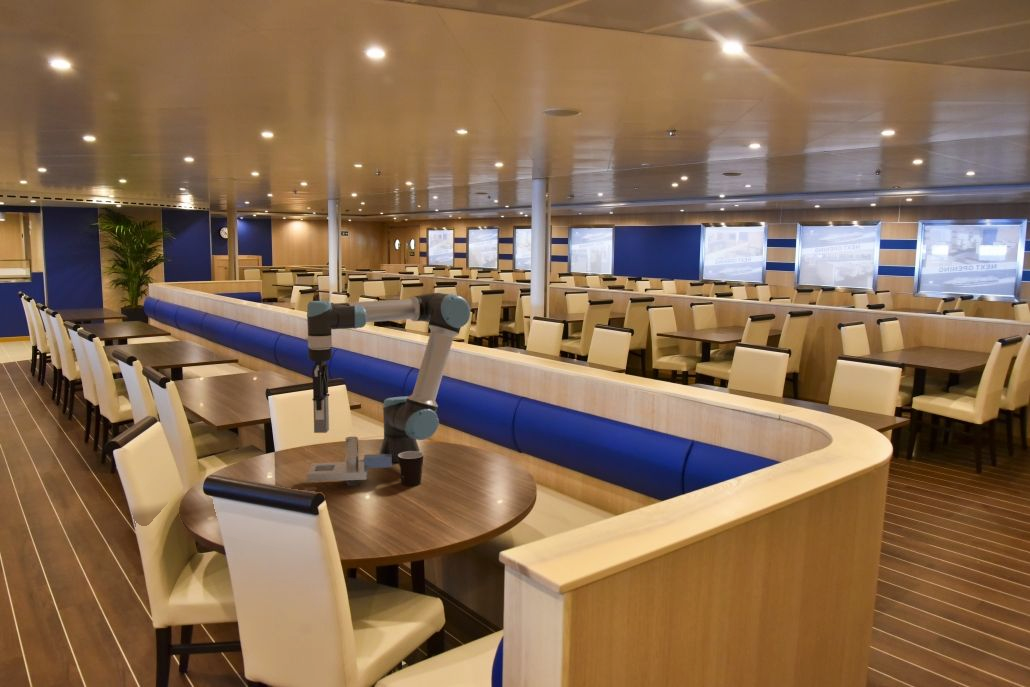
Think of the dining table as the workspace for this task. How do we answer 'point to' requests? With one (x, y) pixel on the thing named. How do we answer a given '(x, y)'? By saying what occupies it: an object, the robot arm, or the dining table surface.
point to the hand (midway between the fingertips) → (321, 417)
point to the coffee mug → (411, 467)
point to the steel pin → (323, 425)
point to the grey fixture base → (348, 466)
